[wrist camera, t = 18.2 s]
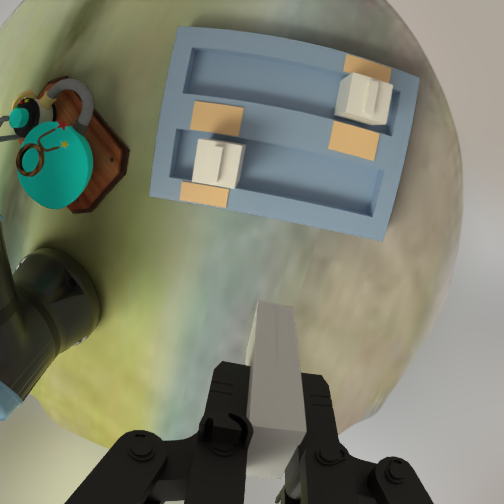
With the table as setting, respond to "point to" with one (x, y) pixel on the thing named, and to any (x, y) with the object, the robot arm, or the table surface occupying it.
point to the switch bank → (281, 130)
